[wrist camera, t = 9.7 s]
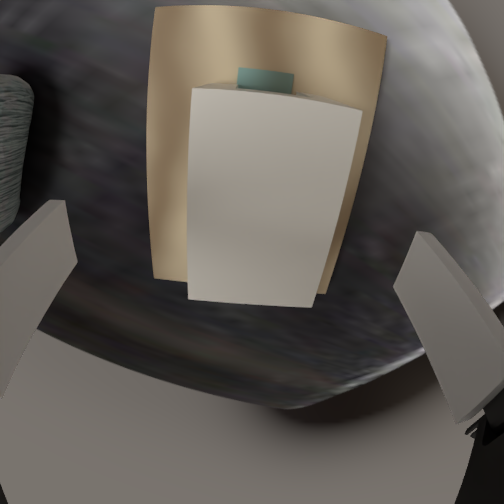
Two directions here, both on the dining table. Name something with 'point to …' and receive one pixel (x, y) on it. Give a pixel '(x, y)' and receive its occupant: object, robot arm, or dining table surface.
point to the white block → (264, 192)
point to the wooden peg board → (247, 77)
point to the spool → (13, 142)
